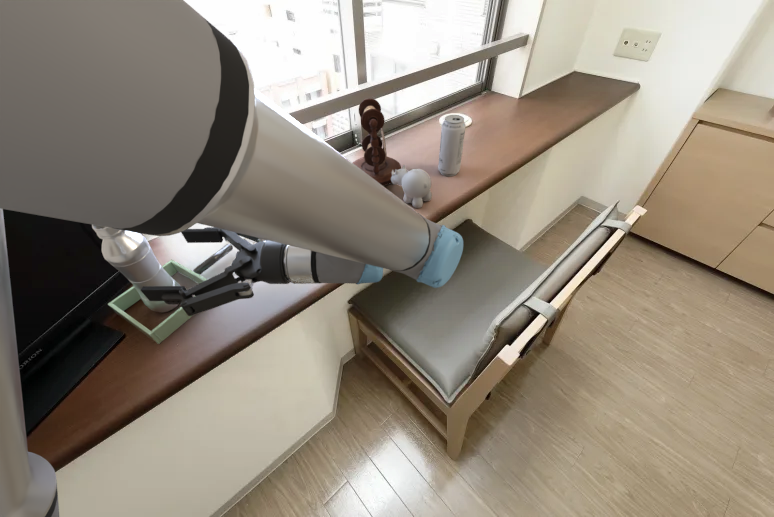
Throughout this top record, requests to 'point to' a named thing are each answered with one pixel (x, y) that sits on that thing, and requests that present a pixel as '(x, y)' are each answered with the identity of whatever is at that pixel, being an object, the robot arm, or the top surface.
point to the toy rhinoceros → (413, 185)
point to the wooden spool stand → (375, 144)
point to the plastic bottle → (135, 262)
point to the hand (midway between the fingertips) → (167, 262)
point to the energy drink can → (451, 145)
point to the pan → (178, 316)
